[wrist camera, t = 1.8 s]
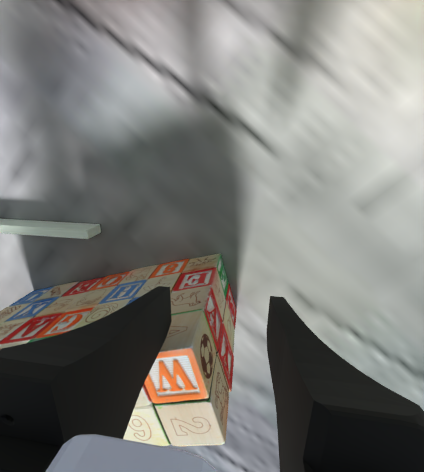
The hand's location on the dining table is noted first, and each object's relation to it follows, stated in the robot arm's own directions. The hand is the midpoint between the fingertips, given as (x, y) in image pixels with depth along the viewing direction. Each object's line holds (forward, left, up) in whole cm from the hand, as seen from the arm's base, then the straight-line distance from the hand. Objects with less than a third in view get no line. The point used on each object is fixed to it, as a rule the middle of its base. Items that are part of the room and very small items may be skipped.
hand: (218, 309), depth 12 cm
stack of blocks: (-7, +10, -11) cm, 17 cm away
